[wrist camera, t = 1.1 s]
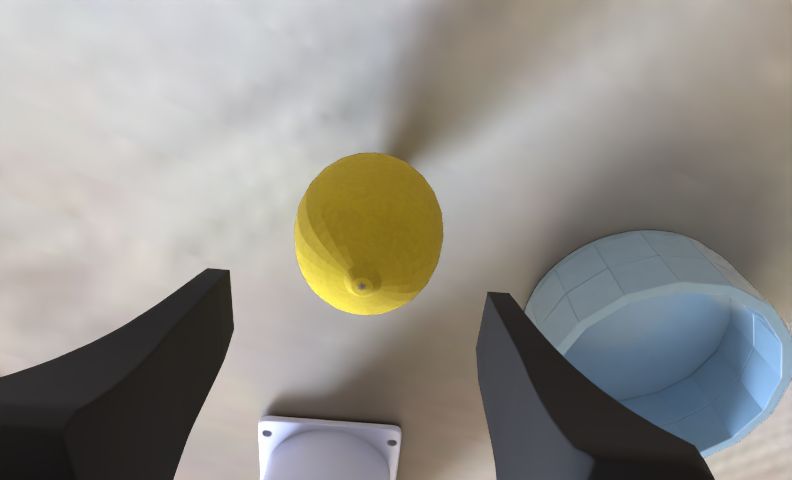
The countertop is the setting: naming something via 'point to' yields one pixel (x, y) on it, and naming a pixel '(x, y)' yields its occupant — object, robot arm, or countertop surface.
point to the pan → (668, 334)
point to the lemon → (368, 233)
